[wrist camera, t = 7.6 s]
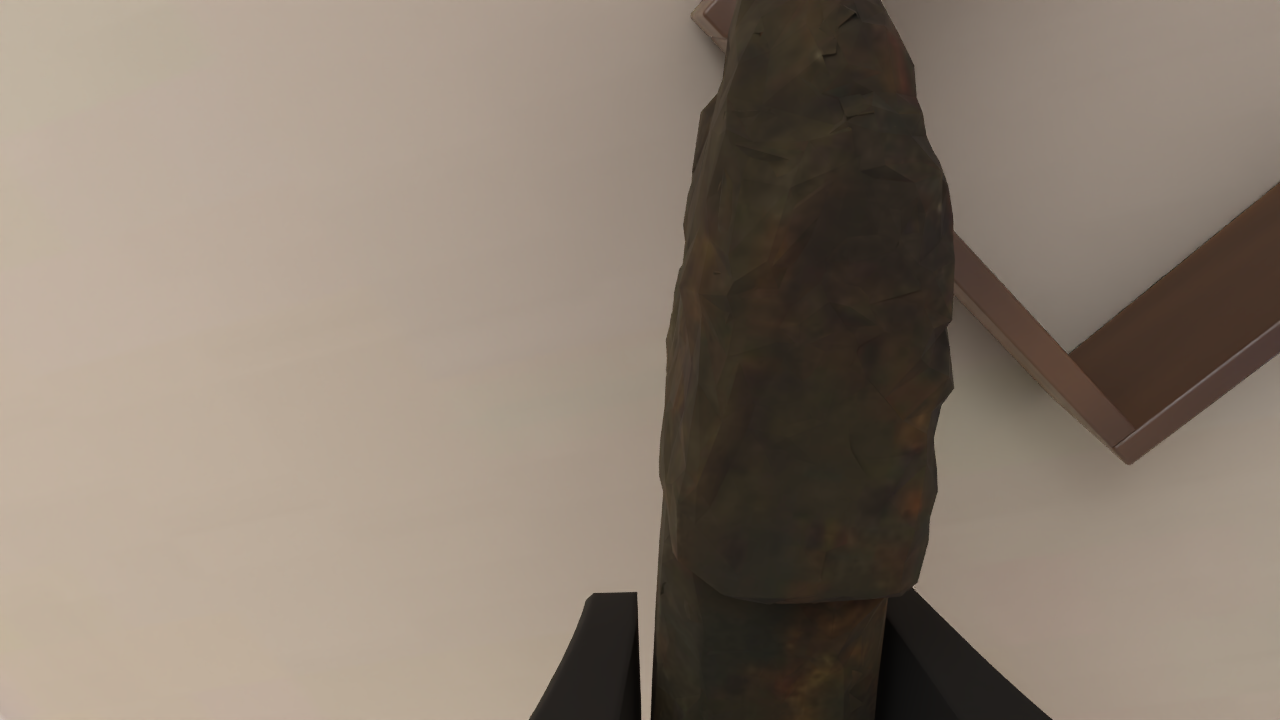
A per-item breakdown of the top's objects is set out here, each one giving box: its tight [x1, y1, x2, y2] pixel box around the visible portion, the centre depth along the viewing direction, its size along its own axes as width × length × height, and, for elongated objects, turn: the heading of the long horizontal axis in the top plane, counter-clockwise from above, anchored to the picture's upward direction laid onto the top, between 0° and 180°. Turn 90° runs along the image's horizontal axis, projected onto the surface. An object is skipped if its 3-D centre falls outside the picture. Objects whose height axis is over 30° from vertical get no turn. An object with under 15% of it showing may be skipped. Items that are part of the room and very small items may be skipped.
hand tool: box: [651, 0, 955, 720], centre depth 11 cm, size 19×4×5 cm, turn 177°
